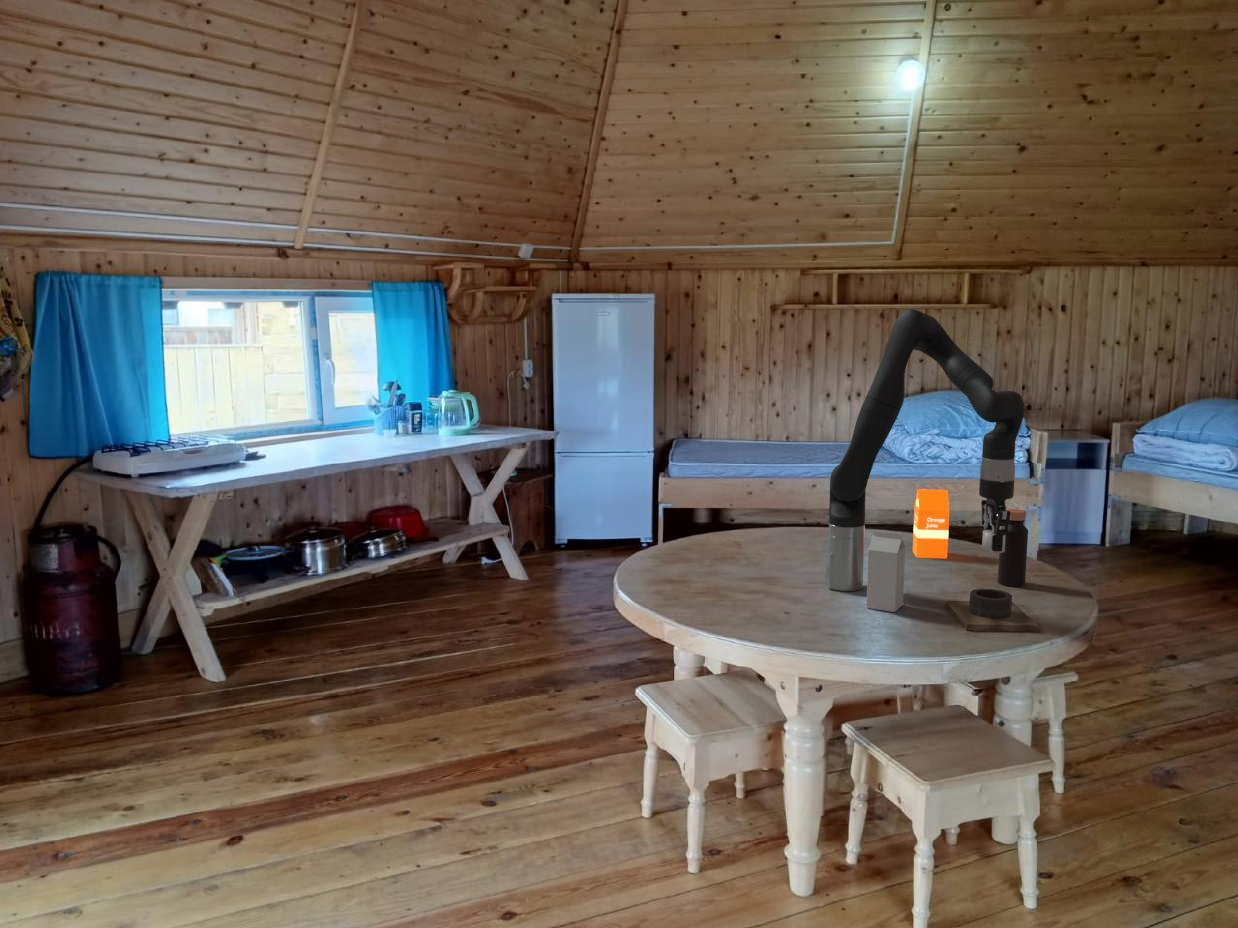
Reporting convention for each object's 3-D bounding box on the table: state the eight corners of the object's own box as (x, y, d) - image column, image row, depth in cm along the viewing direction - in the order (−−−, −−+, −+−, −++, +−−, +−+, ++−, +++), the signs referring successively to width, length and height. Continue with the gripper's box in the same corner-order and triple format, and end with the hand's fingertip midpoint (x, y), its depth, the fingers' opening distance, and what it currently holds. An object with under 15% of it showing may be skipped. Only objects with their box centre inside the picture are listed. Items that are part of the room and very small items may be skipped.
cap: (985, 552, 220) (986, 534, 219) (979, 547, 225) (980, 529, 224) (1007, 553, 220) (1008, 534, 219) (1000, 547, 224) (1001, 529, 224)
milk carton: (894, 612, 230) (898, 537, 227) (866, 608, 233) (868, 533, 230) (903, 605, 236) (906, 531, 233) (874, 600, 239) (877, 527, 236)
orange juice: (912, 551, 288) (915, 487, 285) (942, 552, 287) (945, 487, 284) (916, 557, 281) (919, 491, 278) (947, 558, 280) (950, 492, 276)
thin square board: (966, 630, 217) (967, 605, 216) (945, 606, 234) (946, 583, 233) (1037, 631, 216) (1039, 606, 215) (1011, 607, 233) (1012, 583, 232)
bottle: (993, 580, 257) (998, 508, 254) (1019, 580, 257) (1023, 508, 254) (1003, 587, 250) (1007, 513, 247) (1029, 587, 250) (1033, 513, 247)
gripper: (971, 471, 227) (968, 540, 229) (990, 482, 213) (986, 555, 215) (1003, 471, 226) (999, 540, 229) (1024, 482, 212) (1020, 556, 215)
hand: (993, 547), depth 222 cm, fingers closed on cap, 5 cm apart
